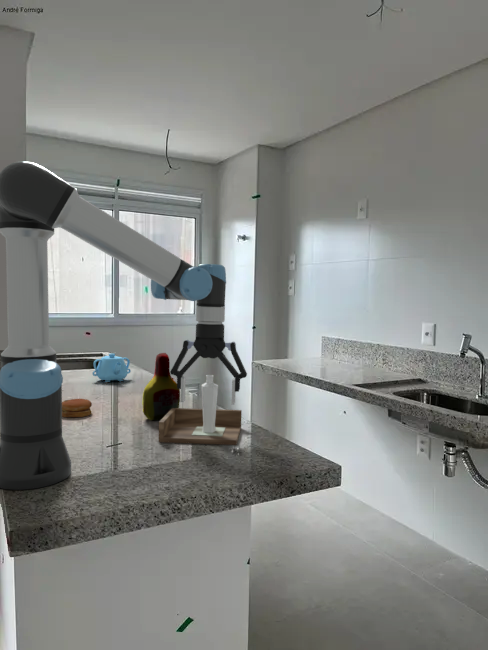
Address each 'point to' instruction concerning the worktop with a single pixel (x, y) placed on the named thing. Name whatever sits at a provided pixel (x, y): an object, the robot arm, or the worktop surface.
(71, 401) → the burger
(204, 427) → the white faceted vase
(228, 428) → the brown wooden flat tray
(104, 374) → the teapot
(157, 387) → the bottle
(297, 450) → the worktop surface
